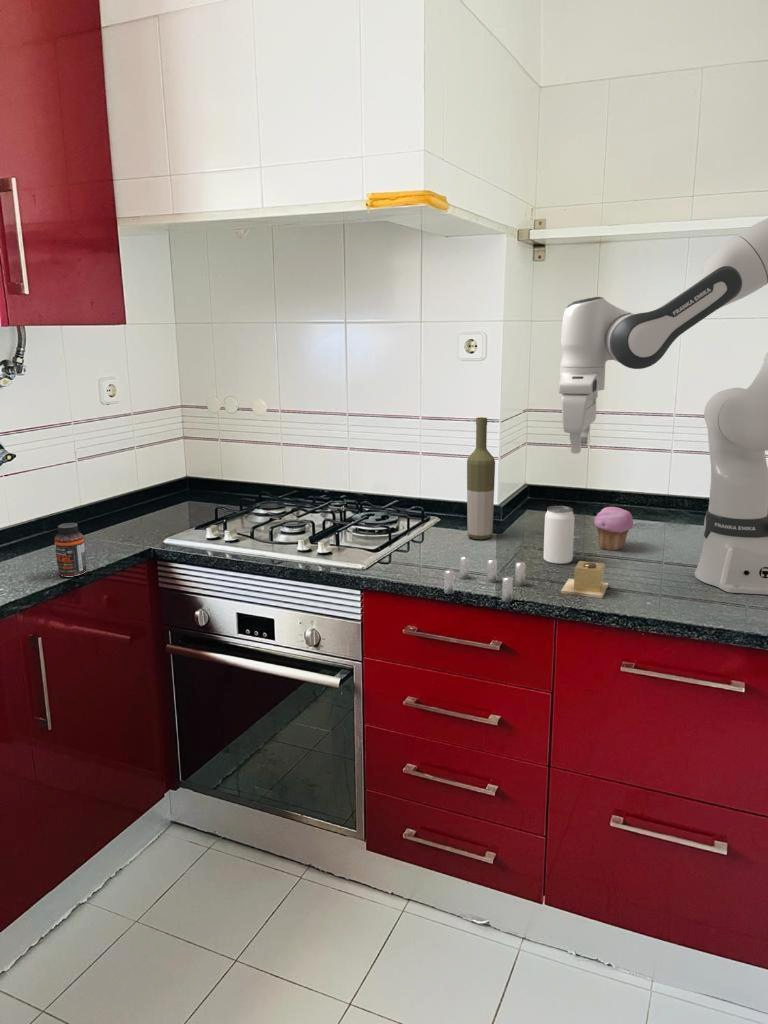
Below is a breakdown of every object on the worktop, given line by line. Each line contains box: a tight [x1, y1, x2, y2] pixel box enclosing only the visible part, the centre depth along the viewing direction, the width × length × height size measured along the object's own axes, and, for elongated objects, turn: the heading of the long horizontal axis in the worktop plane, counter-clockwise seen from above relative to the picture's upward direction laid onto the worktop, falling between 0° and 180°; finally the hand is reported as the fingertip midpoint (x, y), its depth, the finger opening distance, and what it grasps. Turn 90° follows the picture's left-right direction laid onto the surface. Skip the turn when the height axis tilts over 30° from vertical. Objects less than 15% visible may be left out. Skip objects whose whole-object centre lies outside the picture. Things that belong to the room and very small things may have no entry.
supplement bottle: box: [54, 522, 87, 576], centre depth 172 cm, size 6×6×11 cm
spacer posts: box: [443, 555, 526, 603], centre depth 160 cm, size 14×12×4 cm
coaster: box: [560, 577, 609, 599], centre depth 159 cm, size 8×8×1 cm
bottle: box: [466, 416, 496, 540], centre depth 194 cm, size 7×7×30 cm
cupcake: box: [593, 506, 634, 551], centre depth 185 cm, size 9×9×10 cm
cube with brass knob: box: [573, 560, 605, 592], centre depth 158 cm, size 5×5×5 cm
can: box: [543, 505, 575, 565], centre depth 176 cm, size 6×6×12 cm
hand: (579, 449), depth 161 cm, fingers open, 8 cm apart
